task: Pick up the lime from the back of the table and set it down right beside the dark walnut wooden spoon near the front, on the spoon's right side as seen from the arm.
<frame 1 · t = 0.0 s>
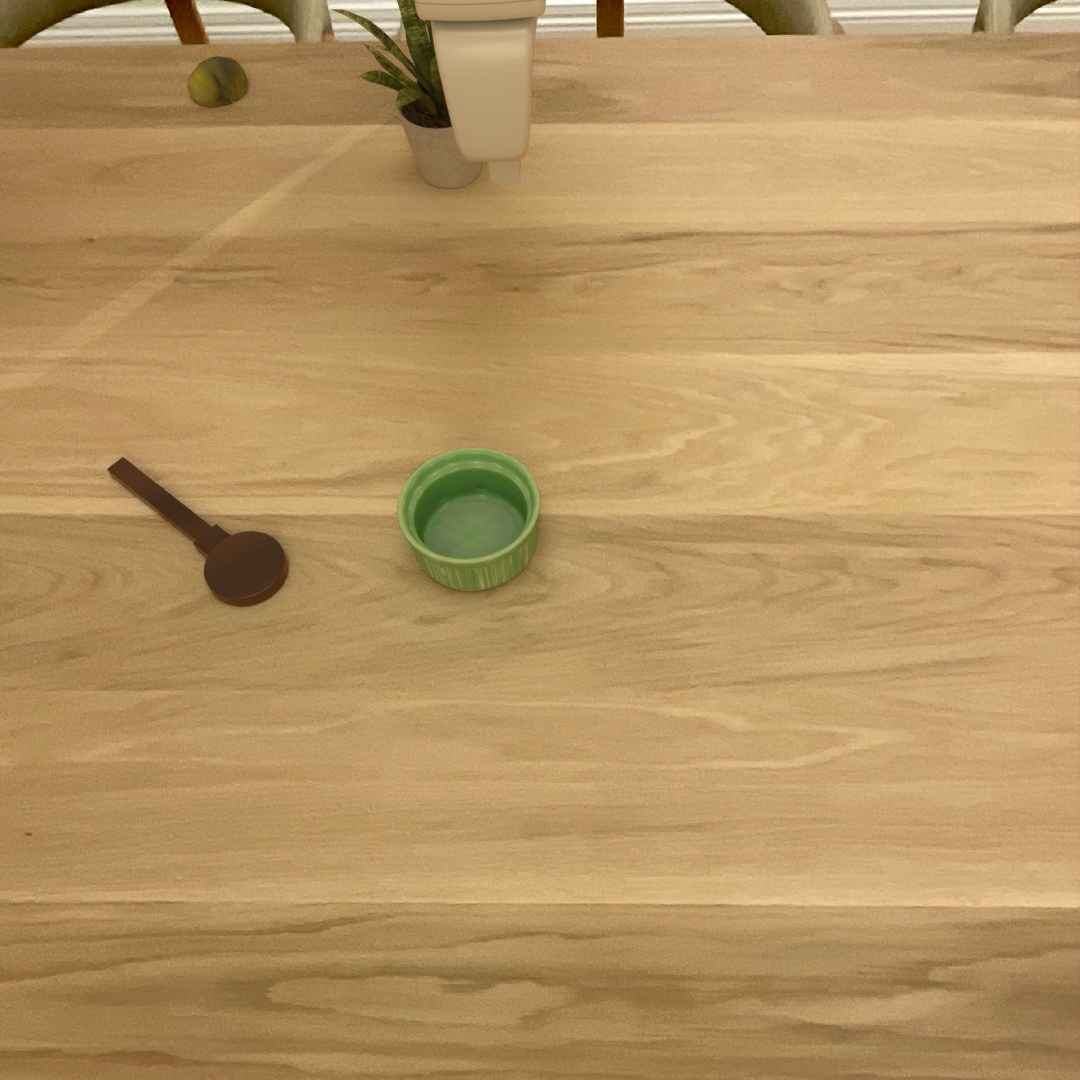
hand: (508, 126, 72), 17 cm above the table, tool pointing down, fingers open, 8 cm apart
spoon: (198, 532, 77), on the table
lime: (228, 111, 102), on the table
ramekin: (476, 544, 77), on the table
house plant: (467, 171, 96), on the table
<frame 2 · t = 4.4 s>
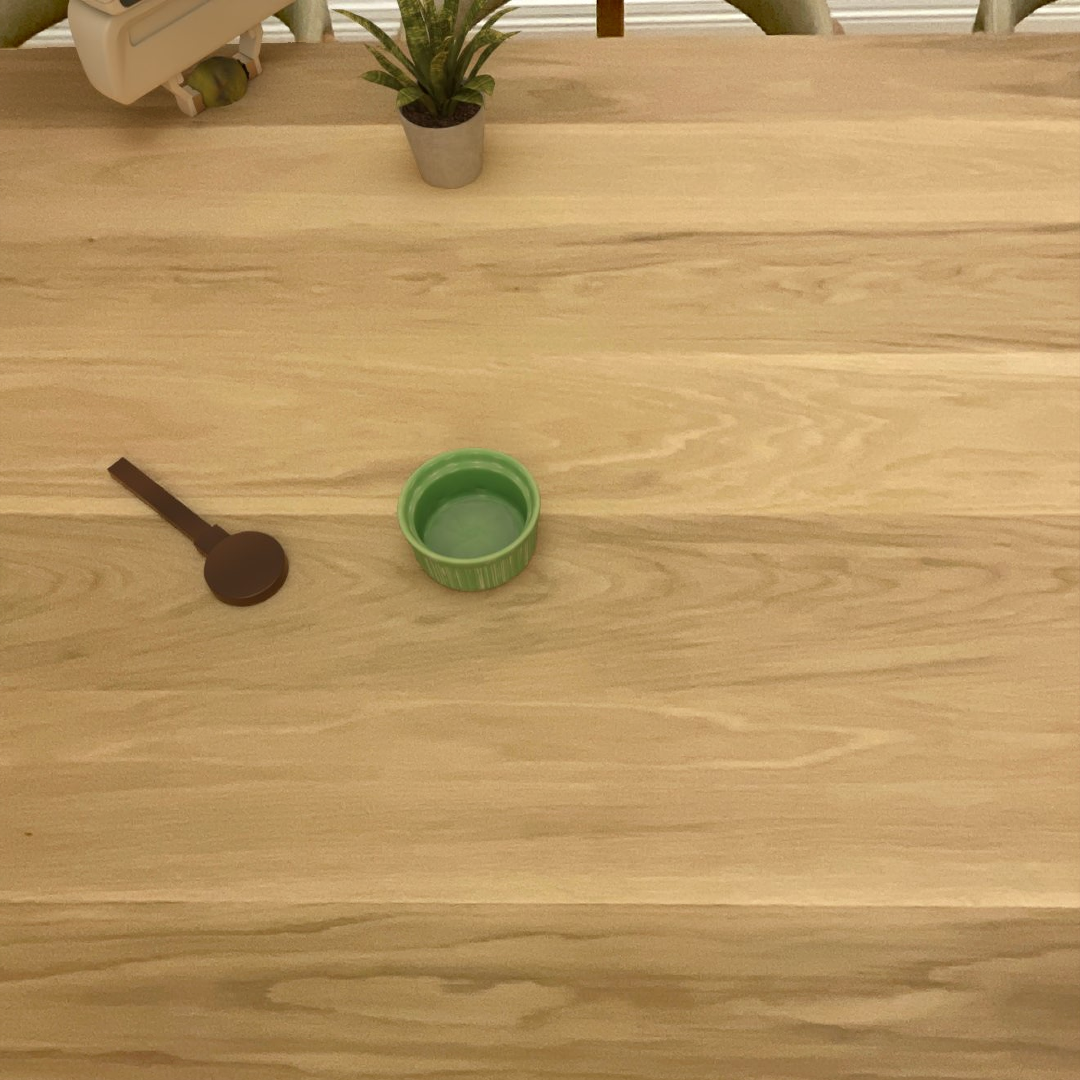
hand: (222, 93, 100), 2 cm above the table, tool pointing down, fingers closed on lime, 5 cm apart
lime: (228, 111, 102), on the table, touching gripper
everything else where it was.
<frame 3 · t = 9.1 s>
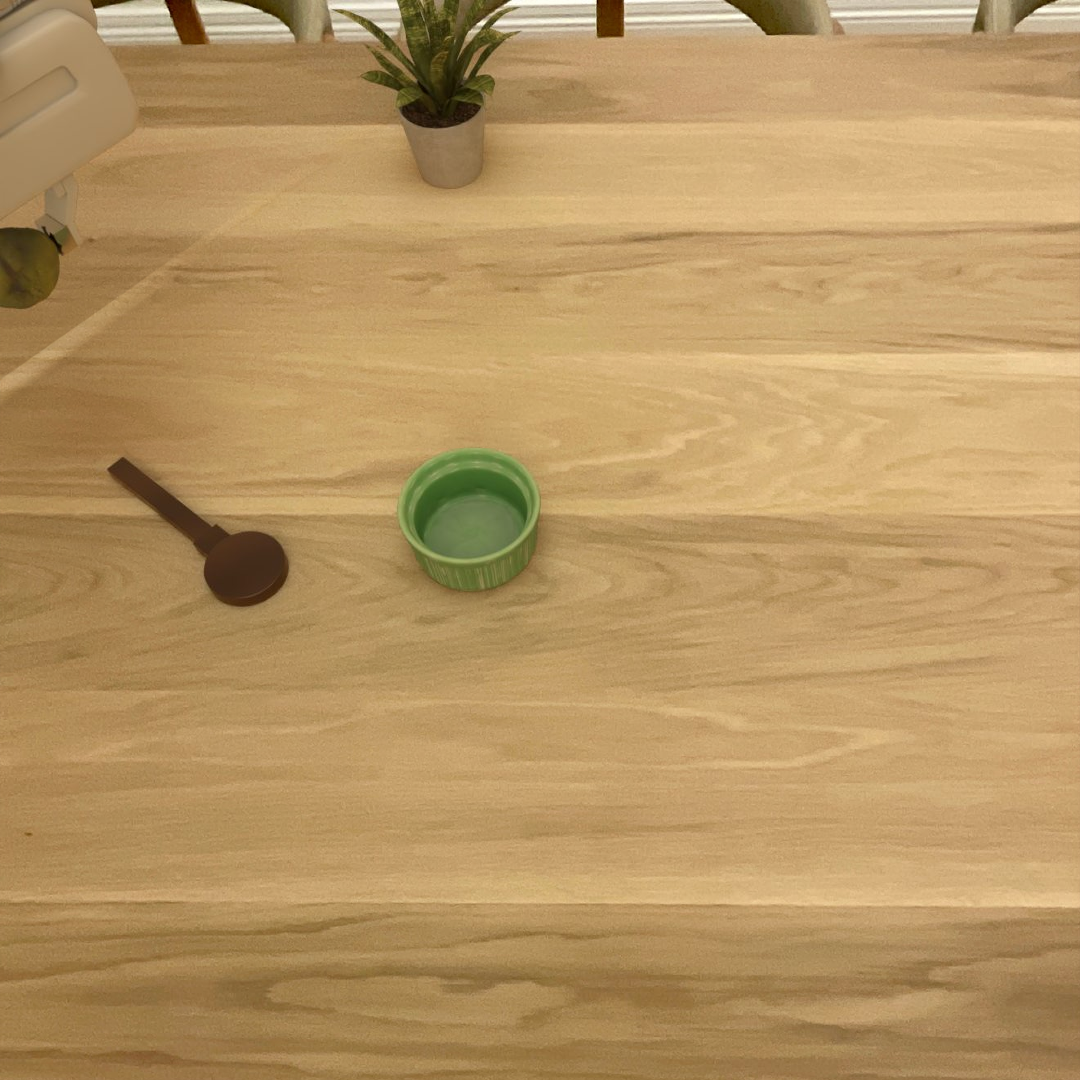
hand: (21, 277, 66), 17 cm above the table, tool pointing down, fingers closed on lime, 5 cm apart
lime: (36, 300, 67), point 16 cm above the table, touching gripper
everything else where it was.
when the fingers open (2 cm above the table, at t = 13.9 s): lime stays where it is, on the table.
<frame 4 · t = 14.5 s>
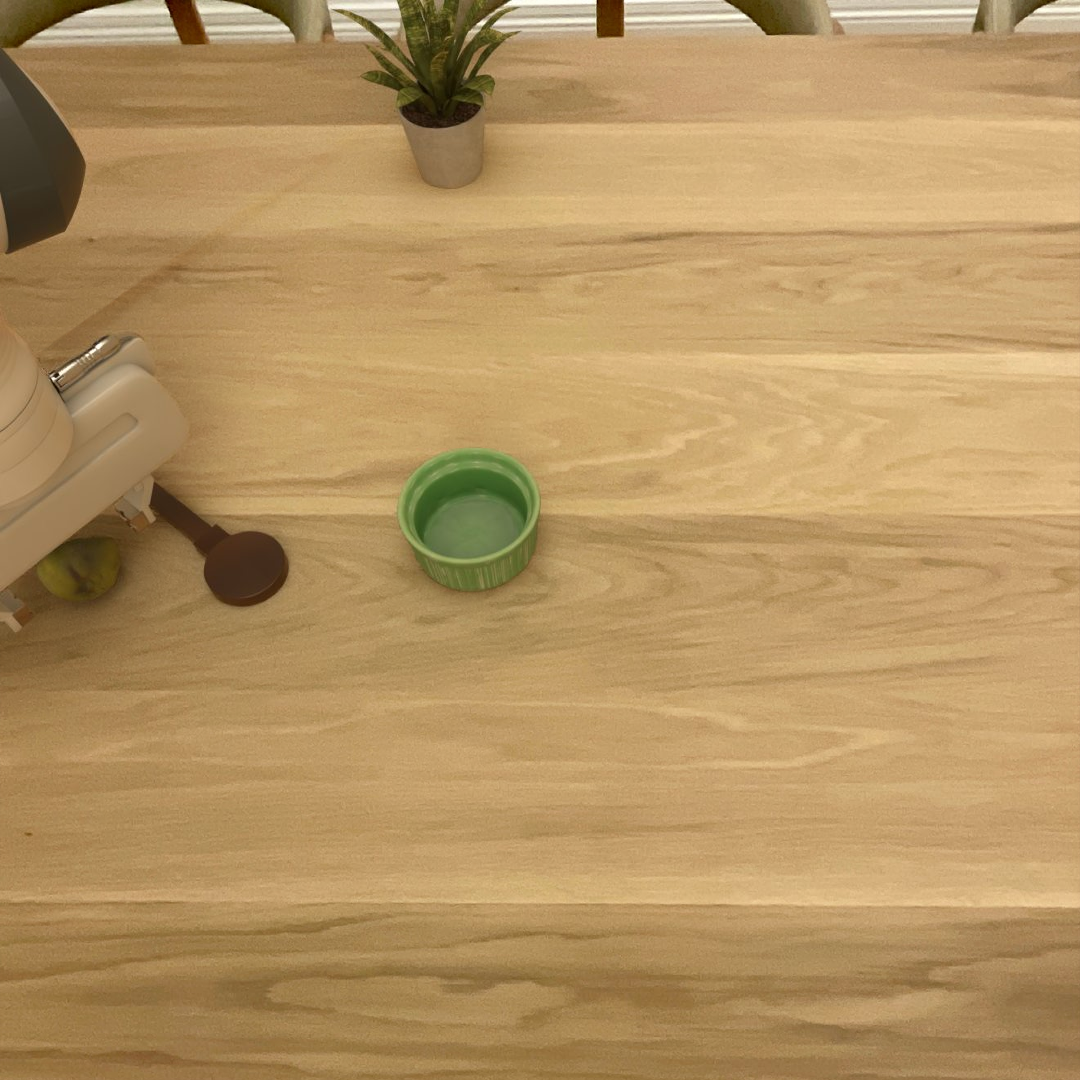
hand: (81, 569, 74), 2 cm above the table, tool pointing down, fingers open, 8 cm apart
lime: (98, 587, 76), on the table
everything else where it was.
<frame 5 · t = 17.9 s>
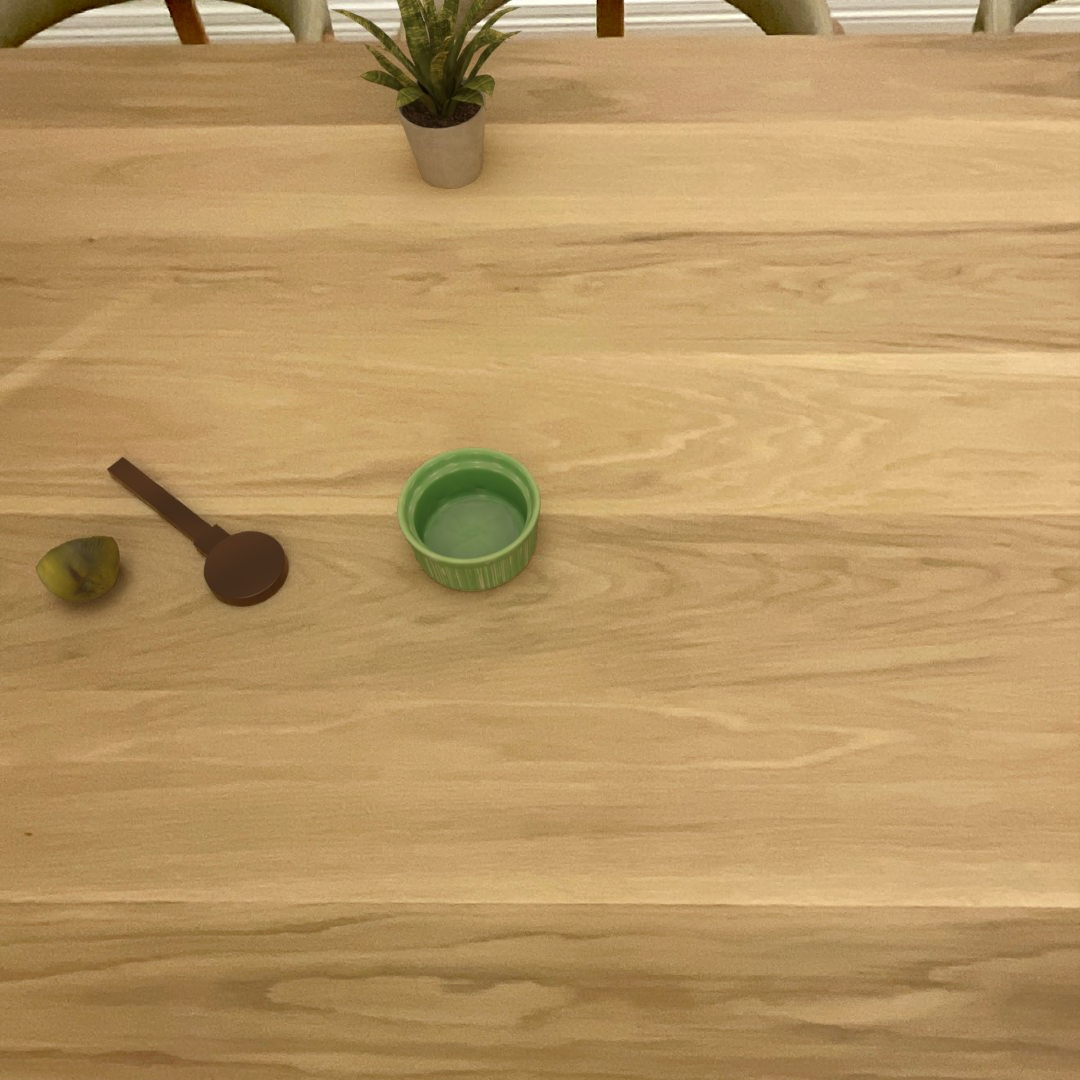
nothing on the table moved.
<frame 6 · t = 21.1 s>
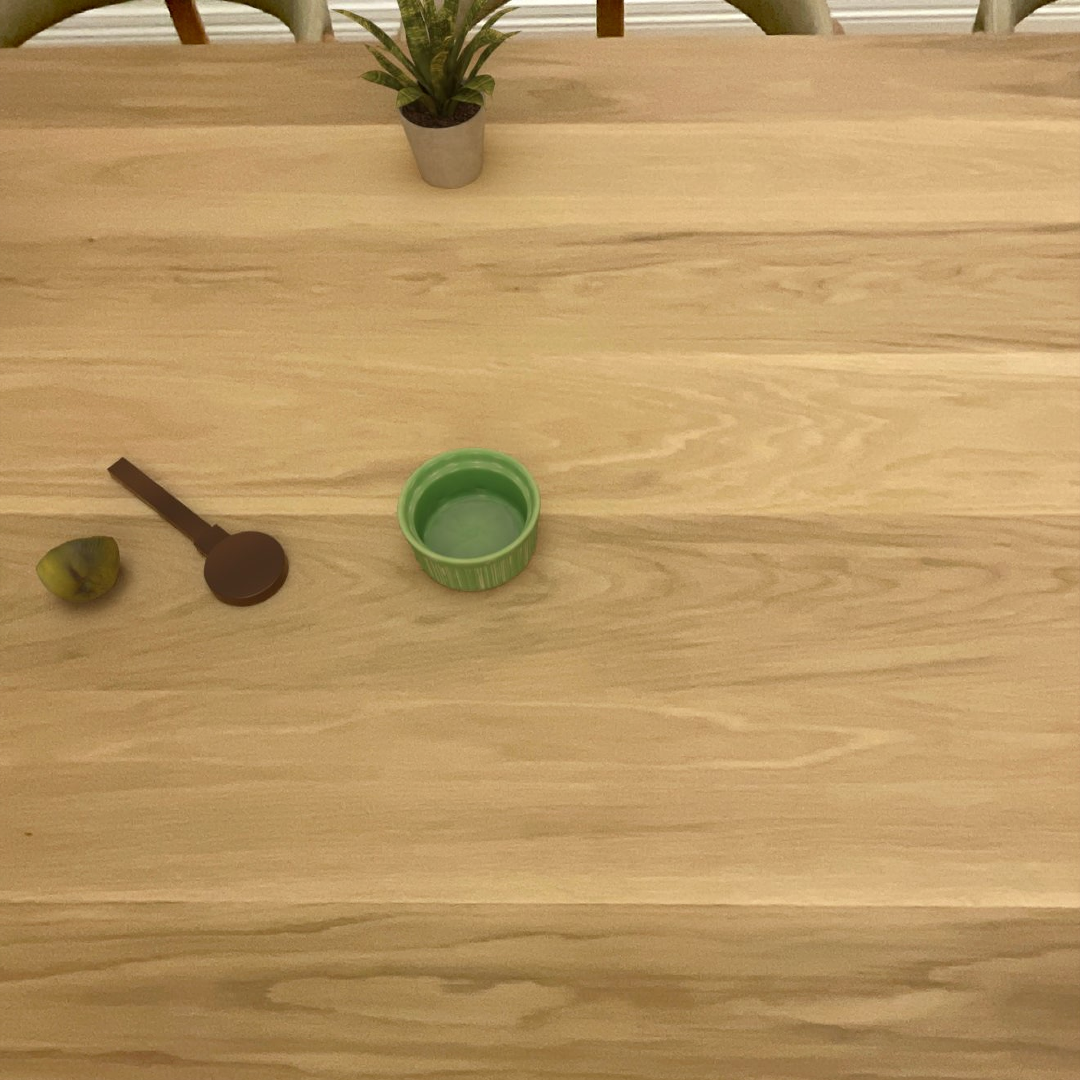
nothing on the table moved.
at the end: lime inside the target area on the table beside the spoon (1.1 cm from its centre), on the table; the gripper is holding nothing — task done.
